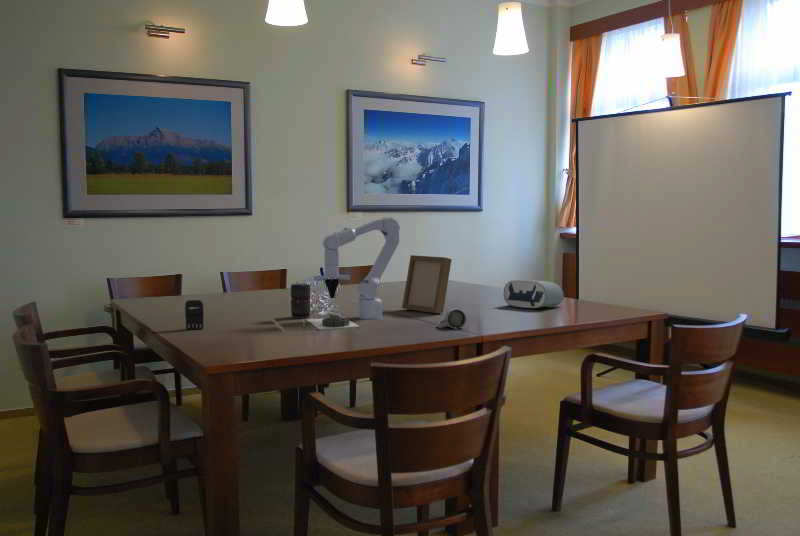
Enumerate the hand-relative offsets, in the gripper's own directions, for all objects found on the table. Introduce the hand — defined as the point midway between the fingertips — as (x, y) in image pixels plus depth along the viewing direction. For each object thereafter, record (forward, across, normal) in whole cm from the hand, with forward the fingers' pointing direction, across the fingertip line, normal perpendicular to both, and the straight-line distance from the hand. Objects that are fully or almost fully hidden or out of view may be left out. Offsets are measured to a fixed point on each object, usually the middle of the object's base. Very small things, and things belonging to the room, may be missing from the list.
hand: (332, 297), depth 279 cm
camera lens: (+10, -11, +10) cm, 18 cm away
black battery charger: (+10, -54, +1) cm, 55 cm away
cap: (+9, -2, -14) cm, 17 cm away
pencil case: (+10, +100, +11) cm, 101 cm away
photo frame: (+10, +49, +15) cm, 52 cm away
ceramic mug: (+10, +40, -29) cm, 51 cm away
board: (+10, -2, -8) cm, 13 cm away
